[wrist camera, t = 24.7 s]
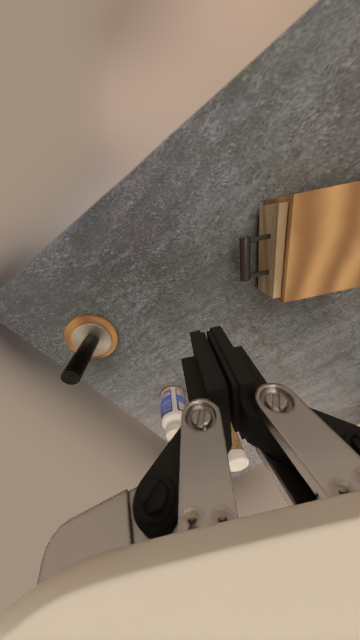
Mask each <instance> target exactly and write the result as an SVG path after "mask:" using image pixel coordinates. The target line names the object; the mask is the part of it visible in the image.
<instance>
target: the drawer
mask: <svg viewBox="0 0 360 640" xmlns="http://www.w3.org/2000/svg"><path fill="white" fill-rule="evenodd" d="M288 214H289V206H288V202H282V203H277V204H271V205H266V206H261V207H260V208H259V236H255V237H250V236H246V237H241V238H239V244H240V280H241V281H244V282H245V281H249V280H250V278H254V277H258V289H259V290H260V291H262V292H263V293H265V294H267V295H268V296H270V297H271V298H273V299H274V298H279V297H281V287H282V284H283V273H284V261H285V249H286V237H287V226H288ZM256 241H259V258H258V272H254V273H250V242H256Z"/></svg>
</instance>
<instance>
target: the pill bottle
mask: <svg viewBox="0 0 360 640" xmlns="http://www.w3.org/2000/svg"><path fill="white" fill-rule="evenodd" d="M185 406H186V402H185V396H184V392H183V390H182V389H181V388H179V387H168V388H166V389H164V390H163V391H162V393H161V422H162V426H163V428H164V429H165V432H166V439H167V440H168V441H170V440H171V439H172V438H173V436H174V435H175V434H176V432H177V431H178V429H179V428H180V427H181V416H182V411H183V409H184V407H185Z"/></svg>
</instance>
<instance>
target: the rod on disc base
mask: <svg viewBox="0 0 360 640" xmlns="http://www.w3.org/2000/svg"><path fill="white" fill-rule="evenodd" d="M71 342H72V344H73V346H74V347H75V349H77V351H76V352H75V354H74V355H73V357H72V359H71V360H70V362H69V363H68V365H67V366H66V368H65V370H64V371H63V373H62V374H61V380H62V381H63V382H64V383H66V384H70V385H73V384H77V383H78V382H79V381H80V379H81V377H82V375H83V373H84V371H85V369H86V367H87V365H88V363H89V361H90V359H91V357H92V356H99V355H102V354H104V353H106V352H107V351H108V350H109V349H110V347H111V345H112V336H111V334H110V332H109V331H108V330H107V329H106V328H105V327H104V326H102V325H100V324H97V323H92V322H87V323H82V324H80V325H78V326H77V327H76V328H75V329H74V330H73V331H72V334H71Z"/></svg>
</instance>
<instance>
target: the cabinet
mask: <svg viewBox="0 0 360 640" xmlns="http://www.w3.org/2000/svg"><path fill="white" fill-rule="evenodd" d="M282 202H288V206H289V214H288V226H287V237H286V249H285V261H284V273H283V284H282V287H281V297H279V298H277V299H279V300H280V301H282V302H284V303H286V302H290V301H295V300H300V299H304V298H309V297H314V296H318V295H323V294H328V293H332V292H337V291H342V290H346V289H351V288H356V287H360V181H356V182H351V183H347V184H342V185H337V186H332V187H327V188H322V189H318V190H313V191H308V192H303V193H298V194H293V195H289V196H284V197H280V198H275V199H271V200H266V201H265V206H266V205H271V204H277V203H282Z"/></svg>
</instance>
